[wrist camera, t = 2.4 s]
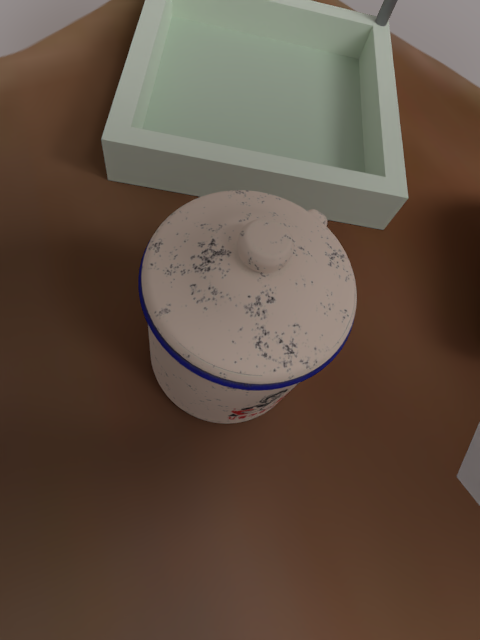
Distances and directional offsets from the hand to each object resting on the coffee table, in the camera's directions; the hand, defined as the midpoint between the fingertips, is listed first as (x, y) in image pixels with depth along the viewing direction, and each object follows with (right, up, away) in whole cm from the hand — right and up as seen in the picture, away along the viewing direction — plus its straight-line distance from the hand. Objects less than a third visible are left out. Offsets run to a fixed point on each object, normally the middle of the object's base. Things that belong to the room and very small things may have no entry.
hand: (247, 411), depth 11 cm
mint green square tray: (+1, +19, +23) cm, 30 cm away
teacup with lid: (0, +1, +15) cm, 15 cm away
